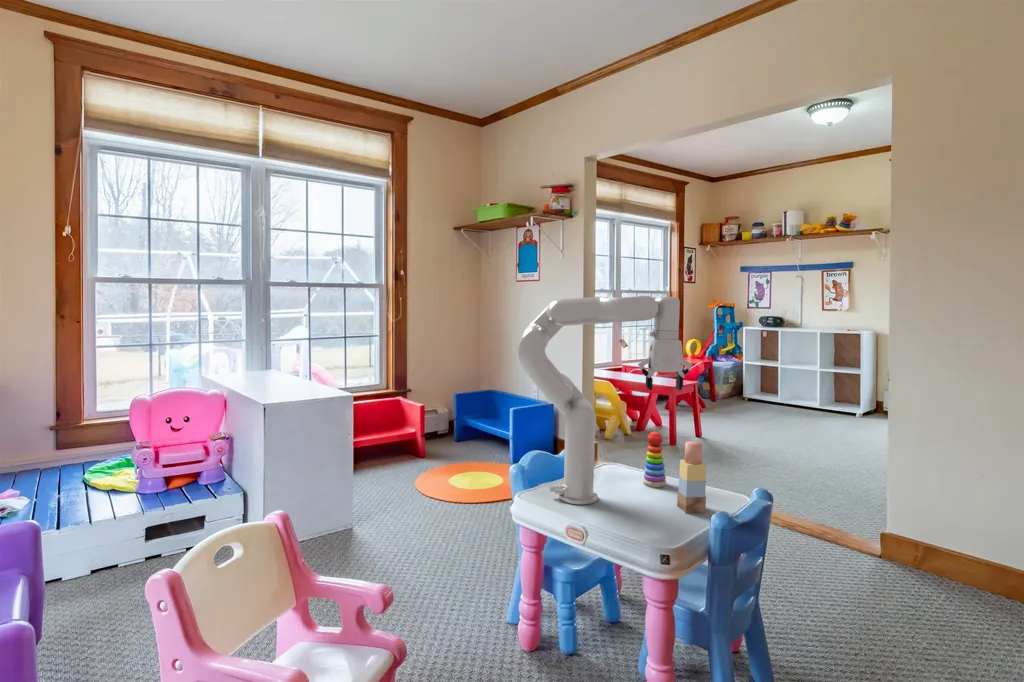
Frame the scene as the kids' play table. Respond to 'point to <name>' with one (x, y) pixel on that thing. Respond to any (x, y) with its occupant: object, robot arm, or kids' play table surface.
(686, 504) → the tower base
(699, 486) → the tower mid
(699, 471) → the tower top
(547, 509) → the kids' play table surface
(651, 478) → the stacking toy
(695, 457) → the cylinder
